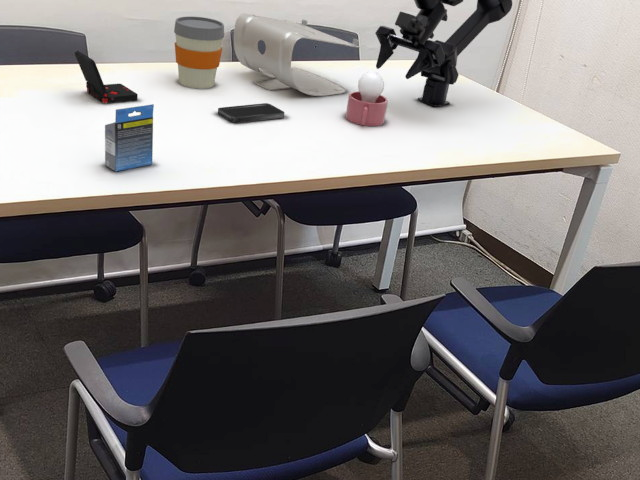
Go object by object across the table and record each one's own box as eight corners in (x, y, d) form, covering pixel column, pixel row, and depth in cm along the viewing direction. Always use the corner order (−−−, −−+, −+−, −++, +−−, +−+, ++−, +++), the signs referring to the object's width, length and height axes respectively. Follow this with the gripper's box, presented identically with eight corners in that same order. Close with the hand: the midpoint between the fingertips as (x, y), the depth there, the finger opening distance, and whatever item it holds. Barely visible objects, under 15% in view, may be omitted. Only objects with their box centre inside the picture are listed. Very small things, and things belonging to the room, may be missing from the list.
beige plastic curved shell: (228, 73, 238) (232, 13, 229) (294, 66, 252) (300, 9, 243) (288, 101, 223) (295, 38, 214) (355, 92, 236) (364, 32, 228)
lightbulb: (370, 123, 214) (378, 77, 208) (348, 115, 217) (355, 70, 211) (383, 118, 219) (391, 73, 212) (361, 111, 221) (368, 66, 215)
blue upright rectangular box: (141, 158, 178) (143, 98, 172) (153, 165, 176) (154, 104, 169) (104, 165, 173) (104, 103, 166) (115, 172, 171) (115, 109, 164)
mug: (347, 110, 222) (350, 89, 219) (385, 117, 221) (389, 95, 218) (342, 125, 212) (345, 103, 209) (382, 132, 211) (386, 109, 208)
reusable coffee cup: (230, 85, 229) (234, 25, 220) (200, 93, 219) (204, 31, 211) (192, 73, 234) (195, 14, 225) (161, 81, 224) (164, 19, 216)
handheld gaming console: (138, 100, 209) (139, 58, 203) (92, 105, 202) (91, 61, 197) (120, 89, 215) (120, 47, 209) (74, 93, 208) (73, 49, 203)
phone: (216, 108, 207) (268, 102, 215) (215, 112, 208) (267, 107, 216) (234, 118, 202) (286, 112, 210) (233, 123, 203) (286, 117, 211)
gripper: (386, -9, 216) (351, 41, 215) (448, 8, 207) (412, 61, 206) (399, 21, 226) (366, 70, 225) (459, 40, 216) (425, 91, 215)
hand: (391, 72), depth 217 cm, fingers open, 9 cm apart
